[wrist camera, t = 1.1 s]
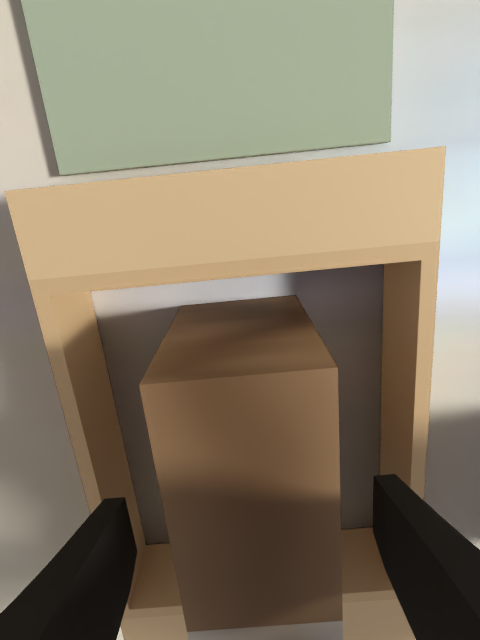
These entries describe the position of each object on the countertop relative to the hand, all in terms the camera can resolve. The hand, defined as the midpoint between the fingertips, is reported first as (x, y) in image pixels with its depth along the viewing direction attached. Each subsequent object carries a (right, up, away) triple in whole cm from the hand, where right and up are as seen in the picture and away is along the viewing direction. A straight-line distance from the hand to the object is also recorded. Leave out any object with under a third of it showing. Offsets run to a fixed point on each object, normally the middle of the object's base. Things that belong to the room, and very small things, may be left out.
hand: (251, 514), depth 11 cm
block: (0, +2, +5) cm, 5 cm away
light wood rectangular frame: (0, +2, +5) cm, 5 cm away
